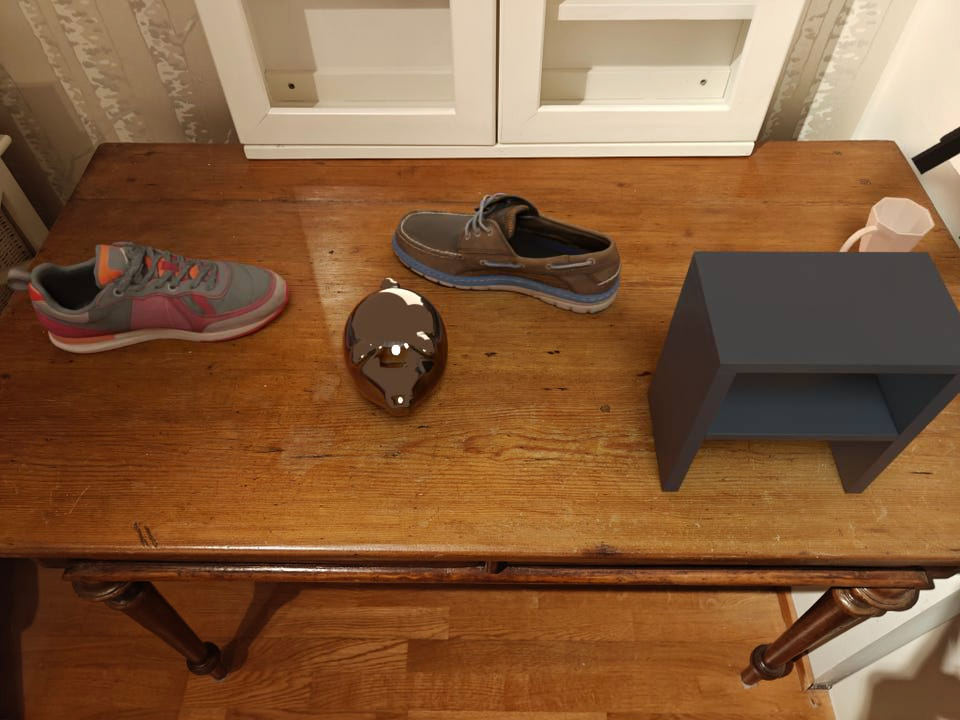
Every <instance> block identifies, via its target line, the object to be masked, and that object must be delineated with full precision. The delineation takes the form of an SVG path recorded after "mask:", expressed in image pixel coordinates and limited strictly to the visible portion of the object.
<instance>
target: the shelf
mask: <svg viewBox="0 0 960 720" xmlns="http://www.w3.org/2000/svg"><path fill="white" fill-rule="evenodd" d="M691 256H692V257H691V259H690V262H689V265H688V269H687V272H686V275H685V277H684V280H683V283H682V287H681V290H680V292H679V296H678V299H677V301H676V304H675V309H674V311H673V313H672V317H671V320H670V323H669V325H668V326H669V327H668V329H667V332H666V335H665V338H664V342H663V344H662V347H661V350H660V353H659V355H658V356H659V357H658V359H657V362H656V366H655V368H654V372H653V374H652V377H651V380H650V384H649V387H648V389H647V393H646V396H647V402H648V408H649V414H650V421H651V428H652V434H653V441H654V446H655V453H656V459H657V461H656V462H657V464H658V465H657V466H658V472H659V473H658V474H659V479H660V485H661V492H662V493H665V492H666V493H678V492H679V491H680V489H681V487H682V484H683V482H684V481H685V478H686V477H687V475H688V472H689V470H690V469H691V466H692V464H693V463H694V460H695V458H696V457H697V454H698V451H699V450H700V448H701V446H702V444H703V443H704V440H707V441H708V440H714V441H715V440H717V441H719V440H720V441H721V440H724V441H725V440H728V441H729V440H730V441H734V440H735V441H828V443H829V446H830V450H831V453H832V456H833V459H834V462H835V465H836V468H837V471H838V474H839V478H840V480H841V483H842V487H843V490H844V493H845V494H862V493H863V492H865V491H866V489H867V488H868V487H869V486H870V485H871V484H872V483H873V482H874V481H875V480H876V479H877V478H878V477H879V476H880V475H881V474H882V473H883V472H884V471H885V470H886V469H887V468H888V467H889V466H890V465H891V464H892V463H893V462H894V461H895V459H897V458H898V457H899V456H900V454H902V453H903V451H904V450H905V449H906V448H908V447H909V445H910V444H912V442H913V441H914V440H915V439H916V438H917V437H918V436H919V435H921V433H922V432H923V431H924V430H926V428H927V427H928V426H929V425H930V424H931V423H932V422H933V421H934V420H935V419H936V418H937V417H938V415H940V414H941V412H943V410H944V409H945V408H946V407H947V406H948V405H950V403H951V402H952V401H953V400H954V399H955V398H956V397H957V396H958V395H959V394H960V311H959V309H958V307H957V305H956V304H955V301H954V299H953V297H952V295H951V293H950V291H949V290H948V287H947V285H946V284H945V282H944V280H943V278H942V276H941V274H940V272H939V270H938V268H937V266H936V264H935V262H934V260H933V259H932V256H931V255H930V253H929V252H928V251H910V252H859V251H847V252H839V251H757V250H756V251H755V250H754V251H751V250H750V251H746V250H745V251H742V250H740V251H737V250H736V251H734V250H733V251H732V250H731V251H728V250H727V251H725V250H723V251H722V250H721V251H719V250H716V251H715V250H714V251H713V250H694V251H693V253H692V255H691Z"/></svg>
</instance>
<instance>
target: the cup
mask: <svg viewBox="0 0 960 720" xmlns="http://www.w3.org/2000/svg"><path fill="white" fill-rule="evenodd" d="M935 226H936V224H935V222H934V219H933V217H932V214H931V212H930V210H929V209H928V208H926V207H924V206H922V205H920V204H918V203H917V202H915V201H913V200H912V199H909V198H907V197H906V198H905V197H891V196H890V197H889V196H888V197H887V196H884V197H883V198H882V199H880V200H879V201H878V202H876V203H875V204H874V205H873V206H872V207H871V209H870V213H869V215H868V217H867V221H866V224H865V227H862V228H861V229H858V230H857V231H855V232H854V233H853V234H852V235H851V236H849V237H848V239H846V241H845V242H844V243H843V245H842V246H841V247H840V250H839V251H838V252H849V249H851V247H852V246H853V245H854V244H855V243H856V242H857V241H858V240H860V243H859V249H858V252H912V250H913V249H914V248H915V247H916V246H917V245H918V244H919V243H920V242H921V241H922V240H923V239H924V237H926V236H927V234H929V232H931V230H932V229H933V228H934V227H935Z"/></svg>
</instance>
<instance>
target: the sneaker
mask: <svg viewBox="0 0 960 720" xmlns="http://www.w3.org/2000/svg"><path fill="white" fill-rule="evenodd" d="M94 249H95V250H94V251H95V256H94V257H92V258H90V259H88V260H86V261H83V262H79V263H76V264H70V265H65V266H62V265H58V264H55V263H52V262H43V263H40V264H38V265H36V266H35V267H33V268H32V271H29V270H26V269H22V268H19V267H10V268H9V269H8V272H7V277H6V282H5V284H6V285H7V286H8V288H10V289H11V290H14V291H16V292H27V291H28V295H29V297H30V300H31V304H32V308H33V310H34V313H35V315H36V317H37V319H38V321H39V323H40V324H41V325H42V327H44V328H45V330H47V333H48V337H49V339H50V341H51V343H52V344H53V345H54V346H55V347H57V348H58V349H61V350H63V351H66V352H68V353H71V354H79V355H81V354H82V355H86V354H96V353H102V352H107V351H112V350H115V349H121V348H124V347H125V348H126V347H129V346H133V345H136V344H140V343H144V342H149V341H152V340H160V339H161V340H162V339H163V340H165V339H175V340H176V339H177V340H183V341H190V342H191V341H192V342H197V343H215V342H224V341H230V340H233V339H237V338H238V339H239V338H241V337H244V336H246V335H249V334H252V333H254V332H256V331H258V330H260V329H261V328H262V327H263V326H265V325H267V324H269V323H270V322H271V321H273V320H274V319H275V318H276V317H277V316H278V315H279V314H280V313H281V312H282V311H283V309H284V307H285V306H286V304H287V303H288V301H289V299H290V285H289V282H288V281H286V280H285V279H284V278H283V277H281V276H280V275H279V274H277V272H275V271H273V270H271V269H268V268H266V267H262V266H259V265H254V264H245V263H238V262H233V261H229V260H212V259H199V258H196V259H191V258H189V257H186V256H184V255H182V254H175V253H171V251H170V250H167V249H165V250H163V249H160V248H154V247H151V245H147V246H143V245H141V244H138V242H137V241H134V240H131V241H116V242H115V241H113V242H112V243H111V244H109V245H108V244H102V243H101V244H96V245H95V248H94Z"/></svg>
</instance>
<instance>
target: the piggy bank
mask: <svg viewBox="0 0 960 720" xmlns="http://www.w3.org/2000/svg"><path fill="white" fill-rule="evenodd" d="M447 333H448V332H447V329H446V326H445V323H444V320H443V317H442V316H441V314H440V312H439V311H438V309H437V308H436V307H435V305H434V304H433V303H432V302H431V300H429V299H428V298H426V296H424V295H423V294H420V293H419V292H418V291H415V290H413V289H409V288H406V287H401V283H400V282H398V281H396V280H394V279H393V278H392V277H385V278H384V279H382V280H381V283H380V286H379V289H376V290H373V291H371V292H369V293H368V294H366V295H365V296H364V297H362V298H361V299H360V300H359V301H358V302H357V303H356V304H355V305H354V307H353V308H352V309H351V311H350V312H349V314H348V316H347V318H346V320H345V324H344V326H343V331H342V339H341V340H342V341H341V349H342V357H343V358H342V359H343V363H344V366H345V369H346V373H347V374H348V377H349V379H350V380H351V382H352V383H353V385H354V387H355V388H356V389H357V391H359V393H360V394H362V395H363V397H365V398H366V399H368V400H369V401H370V402H372V403H374V404H376V405H378V406H379V407H382V408H384V409H385V410H386V411H388V413H389V414H390V415H392V416H396V417H397V416H405V415H409V414H410V413H412V412H413V410H414V408H415V407H416V406H418V405H419V404H420V403H421V402H423V401H424V400H426V399H428V398H429V397H431V395H432V393H433V392H434V391H435V389H436V388H437V387H438V385H439V383H440V382H441V380H442V378H443V376H444V373H445V372H446V368H447V365H448V364H447V363H448V359H449V358H448V356H449V338H448V334H447Z"/></svg>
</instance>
